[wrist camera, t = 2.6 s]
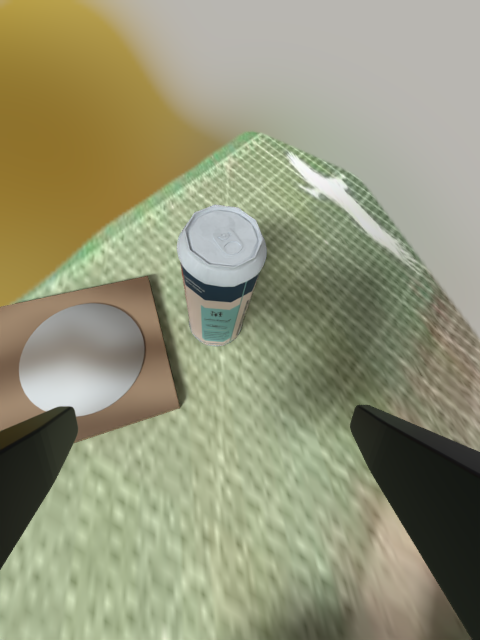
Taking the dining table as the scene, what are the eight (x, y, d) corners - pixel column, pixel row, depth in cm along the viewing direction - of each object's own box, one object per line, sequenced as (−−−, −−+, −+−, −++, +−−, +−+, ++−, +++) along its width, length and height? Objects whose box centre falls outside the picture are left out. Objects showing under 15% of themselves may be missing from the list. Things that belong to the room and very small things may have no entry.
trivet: (180, 407, 21) (178, 406, 20) (9, 464, 18) (-4, 466, 17) (149, 281, 25) (147, 274, 24) (5, 312, 22) (-6, 306, 21)
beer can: (224, 291, 25) (237, 187, 14) (251, 331, 24) (289, 250, 13) (179, 314, 24) (157, 218, 13) (206, 357, 23) (206, 292, 12)
